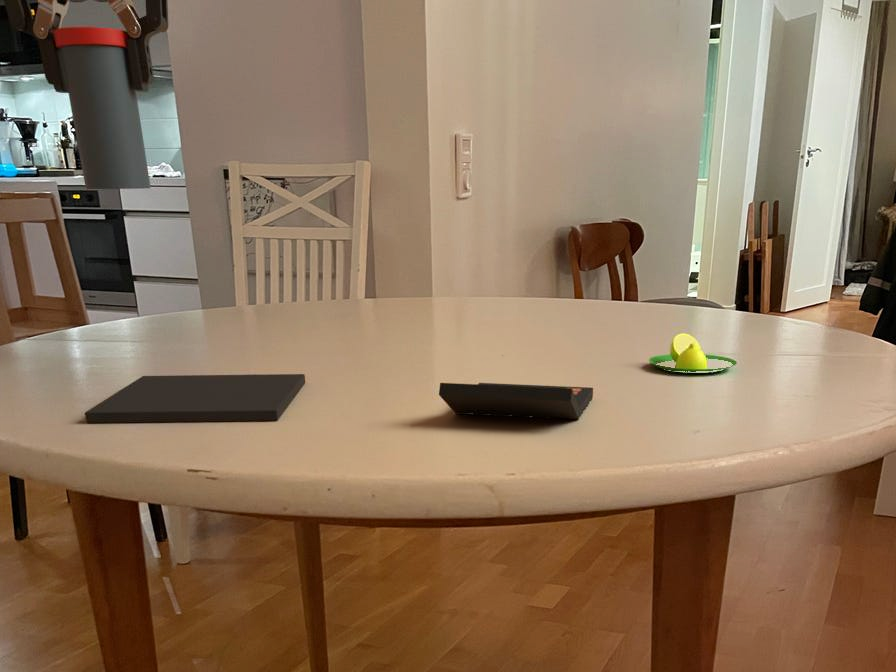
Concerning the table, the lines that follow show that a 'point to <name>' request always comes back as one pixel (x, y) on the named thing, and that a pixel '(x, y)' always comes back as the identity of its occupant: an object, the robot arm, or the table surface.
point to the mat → (200, 399)
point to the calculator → (516, 399)
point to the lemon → (687, 356)
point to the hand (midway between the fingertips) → (102, 91)
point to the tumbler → (104, 107)
